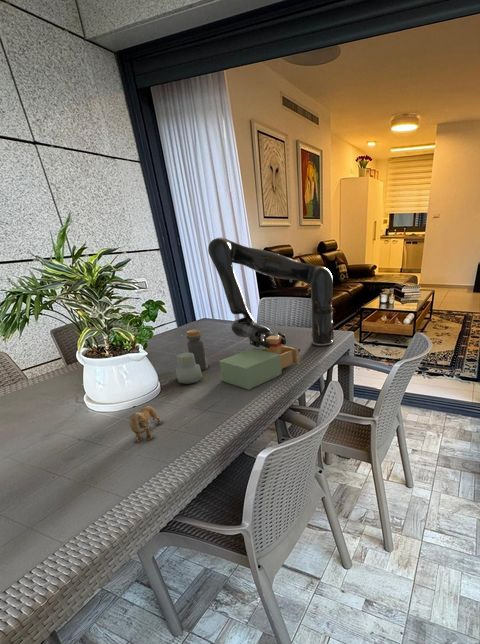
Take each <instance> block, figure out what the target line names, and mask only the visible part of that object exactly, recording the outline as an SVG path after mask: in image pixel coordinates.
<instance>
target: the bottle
mask: <svg viewBox="0 0 480 644" xmlns="http://www.w3.org/2000/svg"><path fill="white" fill-rule="evenodd" d="M185 333H186V339H187V340H188V341H187V348H188V352H189V353H193V354H194V358H195V363H196V364H198V365H200V369H201V371H204V370H207V369H208V365H209V364H208V361H207V355H206V350H205V345H204V341H203V340H201V338H202V335H201V334H200V330H199V329H190V330H189V329H188V330H187V331H186V332H185Z"/></svg>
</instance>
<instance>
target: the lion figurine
mask: <svg viewBox="0 0 480 644" xmlns="http://www.w3.org/2000/svg"><path fill="white" fill-rule="evenodd" d="M151 418H152V421H155V420H156V425H161V424H162V420H161V418H160V416H159V415H158V414H157V412H156V410H155V408H154V407H152V406H150V405H147V406H144V407H142V408H141V410H140V412H135V413H133V414H132V415H131V416H129V419H128V423H129V428H130V430H131V432H133V433H134V434H135V436H136V437H137V439H136V442H137V443H141V442H142V441H143V438H142V436H141V435H142V434H144V433H145V435H146V438H147V440H148V441H151V440H153V436H152V434H151V429H150V422H151Z"/></svg>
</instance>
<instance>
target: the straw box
mask: <svg viewBox="0 0 480 644" xmlns="http://www.w3.org/2000/svg"><path fill="white" fill-rule="evenodd" d="M266 341H267V342H269V345H270V348H267V351H268V352H272V353H276V354H280V355H281V354H283V352H282V345H283V344H282V341H281V336H269V337H268V338H266Z"/></svg>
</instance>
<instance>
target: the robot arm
mask: <svg viewBox="0 0 480 644" xmlns="http://www.w3.org/2000/svg"><path fill="white" fill-rule="evenodd" d="M207 252H208V255H209V257H210V259H211V261H212V263H213V265H214V268H215V269H216V272H217V273H218V276H219V279H220V282H221V284H222V288H223V290H224V291H223V292H224V295H225V297H226V301H227V304H228V307H229V311H230V312H231V314H233V315H242V316H243V317H240V318H238V319H237V318H236V319H235V320H233V321H232V323H231V327H230V329H231V331H232V332H233V334H234V335H235V336H237V337H239V338H247V339H249V345H251V346H254V348H261V347H263V348H265V349H266V348H270V345H269V342H267V341H266V338H268V337H269V336H281V341H282V345H283V346H287V338H286V334H285V333H283V332H282V331H278V332H277V333H274V332H271V330H270V329H269V328H268V327H266V326H264V325H262V324H259V323H256V322H255V320H254V318H253V316H252V314H251V313H250V311H249V309H248V307H247V305H246V301H245V298H244V295H243V291H242V289H241V286H240V284H239V282H238V279H237V276H236V274H235V270H234V266H233V264H235V265H236V264H237V265H241V266H245V267H247V268H249V269H251V270H253V271H255V272H257V273H259V274H262V275H265V276H268V277H271V278H276V279H281V280H294V281H298V282H302V283H305V284H307V285H309V286H310V310H311V311H310V313H311V338H312V339H311V340H312V342H311V343H312V345H314V346H317V347H327V346H330V345H333V343H334V339H335V336H334V335H335V333H334V322H333V292H334V291H333V287H334V285H333V283H334V282H333V275H332V273H331V271H330V270H329V269H328V268H326V267H325V266H321V265H316V264H315V265H314V264H309V263H304V262H300V261H298V260H296V259H293V258H291V257H288V256H285V255H283V254H279V253H276V252H272V251H268V250H265V249H261V248H260V249H259V248H255V247H248V246H245V245H242V244H239V243H237V242H234V241H231V240H229V239H227V238H225V237H215V238H213V239H212V240H211V241H210V242H209V244H208V247H207Z"/></svg>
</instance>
